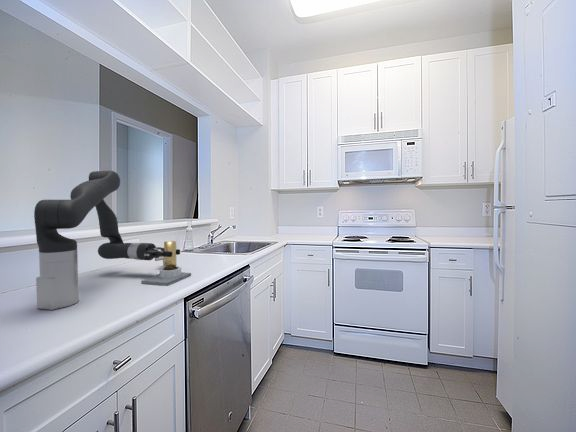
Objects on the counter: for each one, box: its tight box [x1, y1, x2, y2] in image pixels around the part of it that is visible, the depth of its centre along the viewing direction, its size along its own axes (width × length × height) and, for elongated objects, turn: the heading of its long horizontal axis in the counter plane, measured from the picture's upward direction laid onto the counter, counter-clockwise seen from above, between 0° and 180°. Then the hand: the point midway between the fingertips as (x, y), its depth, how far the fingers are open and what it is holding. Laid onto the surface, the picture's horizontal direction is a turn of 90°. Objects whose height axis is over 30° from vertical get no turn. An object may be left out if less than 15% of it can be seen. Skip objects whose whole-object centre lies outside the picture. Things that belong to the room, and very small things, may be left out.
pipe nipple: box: [163, 240, 178, 270], centre depth 116 cm, size 5×5×12 cm
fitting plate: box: [141, 266, 192, 287], centre depth 114 cm, size 16×12×4 cm
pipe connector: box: [154, 257, 164, 268], centre depth 136 cm, size 10×10×10 cm
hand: (175, 253), depth 116 cm, fingers closed on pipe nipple, 4 cm apart
